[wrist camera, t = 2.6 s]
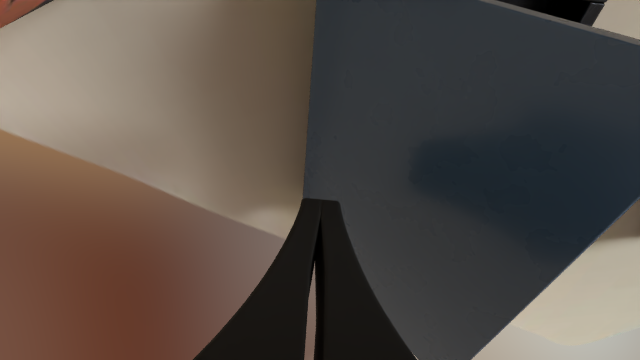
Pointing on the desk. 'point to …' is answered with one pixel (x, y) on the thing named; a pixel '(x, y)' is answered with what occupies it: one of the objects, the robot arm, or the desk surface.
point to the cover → (468, 154)
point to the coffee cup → (17, 9)
